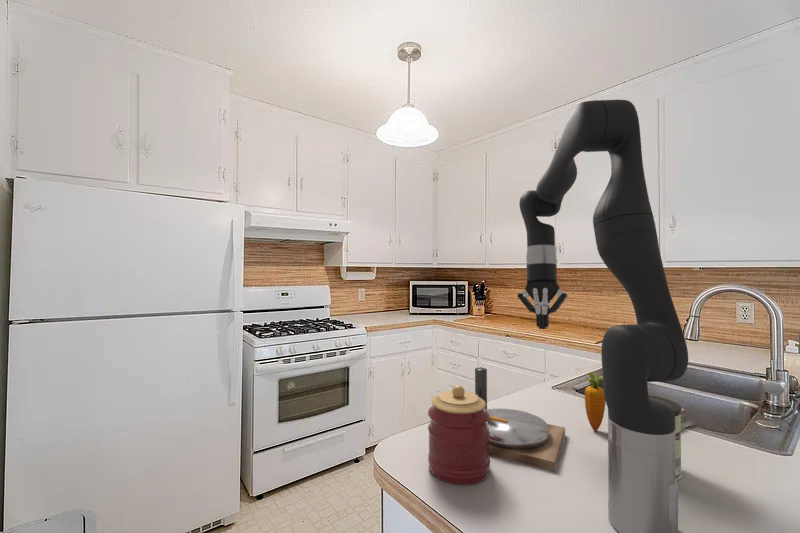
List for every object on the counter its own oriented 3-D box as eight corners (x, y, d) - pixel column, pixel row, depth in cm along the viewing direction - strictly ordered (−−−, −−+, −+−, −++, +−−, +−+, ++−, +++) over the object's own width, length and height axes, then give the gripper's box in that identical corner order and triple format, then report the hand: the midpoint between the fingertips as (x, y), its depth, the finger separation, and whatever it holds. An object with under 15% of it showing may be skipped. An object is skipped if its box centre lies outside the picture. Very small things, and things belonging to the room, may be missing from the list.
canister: (415, 466, 79) (415, 384, 79) (455, 447, 87) (455, 372, 87) (462, 495, 69) (461, 401, 69) (502, 470, 77) (502, 386, 77)
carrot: (609, 436, 92) (608, 376, 92) (587, 434, 93) (587, 375, 93) (602, 427, 97) (602, 371, 97) (582, 426, 98) (581, 370, 98)
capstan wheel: (557, 426, 93) (556, 371, 93) (537, 457, 78) (536, 391, 78) (489, 410, 103) (488, 360, 103) (460, 434, 88) (460, 376, 88)
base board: (565, 435, 93) (565, 426, 93) (554, 471, 76) (554, 460, 76) (477, 416, 104) (477, 408, 104) (451, 445, 88) (451, 435, 88)
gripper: (512, 263, 99) (513, 328, 97) (565, 260, 91) (567, 331, 89) (520, 266, 105) (521, 327, 103) (570, 263, 97) (572, 329, 96)
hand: (542, 329), depth 96 cm, fingers closed
